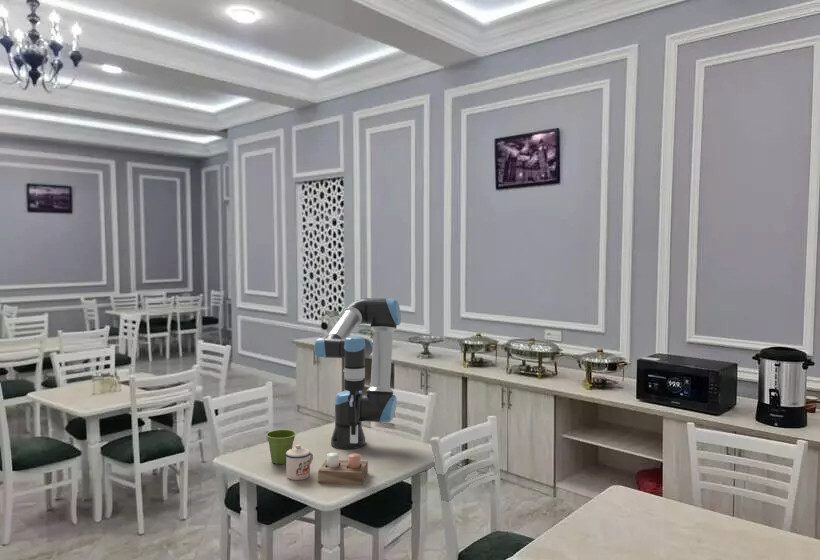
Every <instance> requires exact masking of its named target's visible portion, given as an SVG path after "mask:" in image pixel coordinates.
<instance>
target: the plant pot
mask: <svg viewBox="0 0 820 560" xmlns="http://www.w3.org/2000/svg"><path fill="white" fill-rule="evenodd" d="M296 435H297V432H296V431H294V430H291V429H274V430H271V431H268V432H266V434H265V436H266V437H267V442H268V447H269V452H270V458H271V459H270V460H271V463H273V464H274V463H275V465H278V464H281V465H284V464H286V452H287V451H288V450H290V449H293V445H294V441H295V437H296Z"/></svg>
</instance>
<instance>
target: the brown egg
mask: <svg viewBox="0 0 820 560" xmlns="http://www.w3.org/2000/svg"><path fill="white" fill-rule="evenodd" d="M347 460H348V468H350V469H360V461H361V454H359V453H350V454H348V455H347Z"/></svg>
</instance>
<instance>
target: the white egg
mask: <svg viewBox="0 0 820 560" xmlns="http://www.w3.org/2000/svg"><path fill="white" fill-rule="evenodd" d="M326 459H327V467H328V468H338V467H339V460H340V454H339V453H338V452H329V453H327V454H326Z"/></svg>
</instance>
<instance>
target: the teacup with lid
mask: <svg viewBox="0 0 820 560" xmlns="http://www.w3.org/2000/svg"><path fill="white" fill-rule="evenodd" d="M313 460H314V455H313V453H311V451H310V449H308V448H305V447H303V446H302V445H301V444H296V445H295V446H294V447H292V449H290V450H288V451H287V452H286V463H285V464H286V465H285V466H286V468H285V469H286V471H285V472H286V475H285V476H286V478H287V479H289V480H294V481H299V480H305V479H308V477H309V476H310V474H311V473H310V472H311V467H310V466H311V464H312V462H313Z"/></svg>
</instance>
